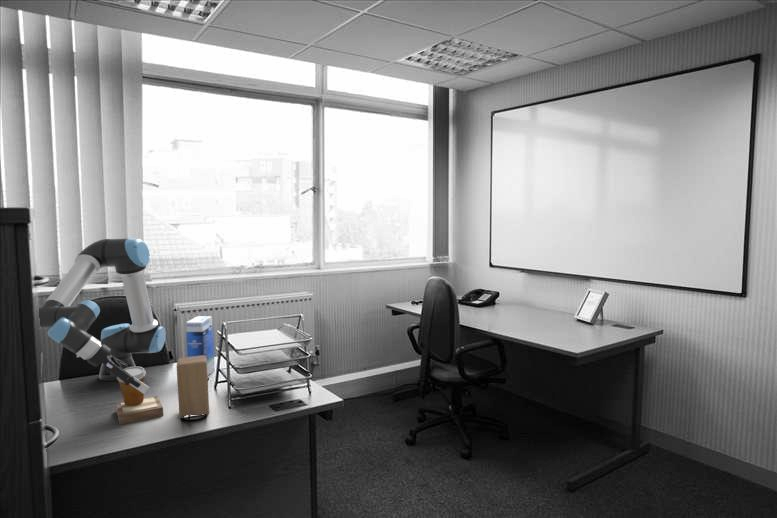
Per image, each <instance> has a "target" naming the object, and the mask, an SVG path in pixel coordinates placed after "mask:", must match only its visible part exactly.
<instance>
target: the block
mask: <svg viewBox="0 0 777 518" xmlns="http://www.w3.org/2000/svg"><path fill="white" fill-rule="evenodd" d="M208 377H209V376H208ZM208 377H207V359H206V356H204V355H201V356H192V357H187V356H186V357H185V356H183V357H179V358H178V359H177V363H176V378H177V380H176V381H177V399H178V415H179V418H180V419H182V418H181V417H182V416H186V415H188V414H191V415H202V414H204V413H205V414H206V415H205V416H208V415H209V413H210V403H209V402H210V401H209V380H208Z"/></svg>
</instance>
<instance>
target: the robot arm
mask: <svg viewBox="0 0 777 518" xmlns="http://www.w3.org/2000/svg"><path fill="white" fill-rule="evenodd" d="M150 261H151V260H150V250H149V247H148V245H147V244H146V242H145V241H143V240H142V239H140V238H132V237H130V238H129V237H128V238H103V239H99V240H97V241H95V242H94V241H93V242H92V243H90V244H89V245H88V246H87V247H85V248H83V250H81V251H80V252H79V253H78V255H77V256H76V257H75V258H74V264H73V265H72V267H71V268H70V269H69V270H68V272H67V273H66V274H65V275H64V277H63V278H62V280H60V282H59V284H57V286H56V287H55V288H54V290H53V291H52V292H51V293H50V295H49V296H48V298H46V300H45V301H44V303H42V304H41V306H38V307H39V318H40V328H39V329H48V330H47V336H48V337H50V339H52V340H53V341H55V342H56V344H59V345H61V346H62V347H64V348H65V349H67V350H69V351H70V352H72V353H74V354H75V355H76V358H82V360H84V361H85V360H86V361H87V363H88V364H90V365H92V366H93V367H98V366H100V365H101V366H100V369H99V370H100V371H99V373H98V374H99V376H98V377H99V378H98V379H99V380H100V381H103V382H115V381H118V379H117V377H118V378H120V379H121V380H122V381H124V382H125V383H126V384H125V385H127V386H128V384H130V385H131V386H133V387H134V388H136V389H137V390H139V391H140V392H142V393H143V394H144V395H145V393H147V391H148V390H149V389H150V386H148V385H147V384H145V382H144V383H142V382H141V381H139V380H138V379H136V378H135V377H133V376H131V375H130V374H129V373H128V372H126V371H125V370H124V369H125V368H128V367H137V366H136V364H135V363H136V362H135V361H134V359H133V355H132V354H152V353H158V352H160V351H161V350H162V349H163V348H164V345H165V343H166V335H167V332H166V329H165V327H164V326H162V325H159V321H158V320H157V319H155V318H154V315H153V312H152V306H151V301H150V298H149V297H150V296H149V292H148V287H147V282H146V279H145V274H144V271H145V270H146V268H147V266H148V264H149V263H150ZM106 267H109V268H111V267H113V268H114V269H115V272H116V274H118V276H121V281H122V285H123V288H124V289H123V290H124V293H125V294H124V295H125V298H126V301H127V306H128V310H129V315H130V318H131V323H132V324H130V323H120V324H115V325H111V326H108V327H105V328H102V330H101V332H100V340H99V339H97V338H96V337H94V336H93V335H92V334H90V333H88V332H87V331H88V330H90V327H91V326H92V325H93V324H94V322H95V321H96V320H97V317H99V315H100V312H101V308H100V306H99V305H98V304H97V303H96V302H94V301H92V300H87V299H85V300H82V301H80V302H79V303H78V304H77V305H75V306H71V305H72V304H73V302H74V301H75V299H76V298H77V297H78V295H79V294H80V292H81V291H82V290H83V289H84V287H85V286H86V285H87V283H88V282H89V281H90V279H91V278H92V276H93V275H94V274H97V273H98V272H99V271H100V270H101V269H102V268H106Z"/></svg>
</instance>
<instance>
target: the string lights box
mask: <svg viewBox="0 0 777 518" xmlns="http://www.w3.org/2000/svg"><path fill="white" fill-rule="evenodd" d="M213 329H214V328H213V316H212V315H207V316H206V315H204V316H203V315H202V316H201V315H198V316H195V317H193V318H192V319H190V320H188V321H186V322H185V335H186V354H187V355H186V357H192V356H201V355H204V356H206V359H207V376H208V375H209V374H210V375H211V374H212V373H213V372H214V371H215V370H216V369H215V368H216V367H215V352H214V349H215V347H214V332H213ZM210 375H209V376H210ZM209 376H208V377H209Z"/></svg>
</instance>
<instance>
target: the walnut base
mask: <svg viewBox="0 0 777 518" xmlns="http://www.w3.org/2000/svg"><path fill="white" fill-rule="evenodd" d="M115 405H116V406H115V409H116V411H115V412H116V415H117V418H118V422H119V423H118V424H119V425H125V424H130V423H134V422H138V421H142V420H147V419H148V420H149V419H152V417H153V418H157V417H162V416H164V407H163V405H162V403H161V400H160V399H159V396H158V395H155V396H149V397H144V400H143V402H142V403H140V404H137V405H133V406H128V405H125V403H124V401H122V402H118V403H115Z"/></svg>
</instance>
